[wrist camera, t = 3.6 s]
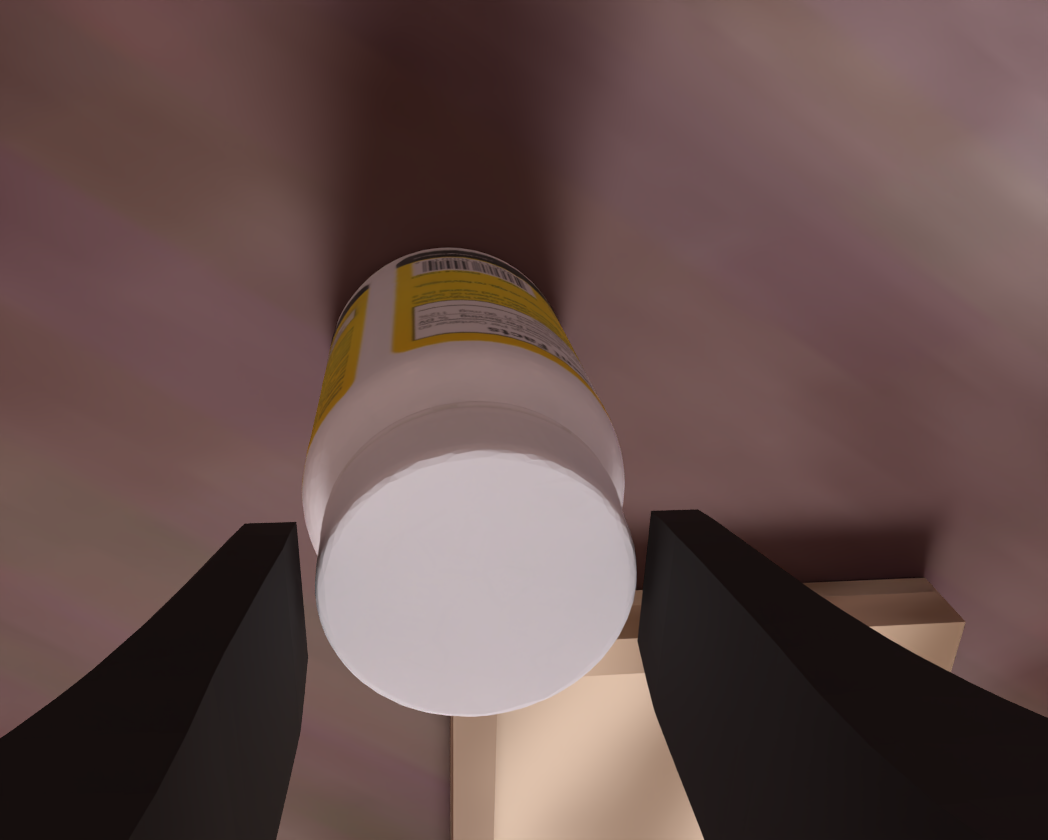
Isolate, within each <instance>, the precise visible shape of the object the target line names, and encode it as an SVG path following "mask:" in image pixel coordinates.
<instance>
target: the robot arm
mask: <svg viewBox="0 0 1048 840" xmlns="http://www.w3.org/2000/svg"><path fill="white" fill-rule="evenodd" d="M637 642H638V646H639V651H640V655H641V659H642V664H643V668H644V672H645V677H646V681H647V685H648V689H649V692H650V696H651V700H652V704H653V708H654V712H655V714H656V717H657V720H658V722H659V725H660V728H661V730H662V733H663V735H664V738H665V741H666V743H667V746H668V748H669V751H670V754H671V756H672V759H673V761H674V764H675V767H676V769H677V772H678V774H679V777H680V779H681V782H682V784H683V787H684V789H685V792H686V794H687V797H688V800H689V802H690V805H691V807H692V810H693V812H694V815H695V817H696V820H697V822H698V825H699V828H700V830H701V833H702V835H703V838H704V840H1048V718H1047V717H1044V716H1042V715H1040V714H1037V713H1035V712H1033V711H1031V710H1028V709H1026V708H1024V707H1021V706H1019V705H1017V704H1015V703H1012V702H1010V701H1008V700H1005V699H1003V698H1001V697H999V696H997V695H995V694H993V693H991V692H989V691H987V690H984V689H982V688H980V687H978V686H976V685H974V684H972V683H970V682H968V681H966V680H964V679H962V678H960V677H958V676H957V675H955V674H953V673H951V672H949V671H947V670H945V669H943V668H941V667H939V666H937V665H936V664H934V663H932V662H930V661H928V660H926V659H924V658H922V657H920V656H918V655H917V654H915V653H913V652H911V651H909V650H908V649H906V648H904V647H902V646H901V645H899V644H897V643H895V642H894V641H892V640H890V639H888V638H887V637H885V636H883V635H882V634H880V633H879V632H877V631H875V630H874V629H872V628H870V627H869V626H867V625H866V624H864V623H862V622H861V621H859V620H858V619H856V618H854V617H853V616H851V615H850V614H848V613H846V612H845V611H843V610H842V609H840V608H839V607H837V606H835V605H834V604H832V603H831V602H829V601H828V600H826V599H825V598H823V597H822V596H820V595H819V594H817V593H816V592H814V591H813V590H812V589H810V588H809V587H807V586H806V585H804V584H803V583H801V582H800V581H799V580H797V579H796V578H794V577H793V576H791V575H790V574H789V573H787V572H786V571H784V570H783V569H782V568H780V567H779V566H777V565H776V564H775V563H773V562H772V561H770V560H769V559H768V558H766V557H765V556H763V555H762V554H761V553H759V552H758V551H757V550H755V549H754V548H753V547H751V546H750V545H748V544H747V543H746V542H744V541H743V540H742V539H740V538H739V537H737V536H736V535H735V534H733V533H732V532H730V531H729V530H728V529H726V528H725V527H724V526H722V525H721V524H719V523H718V522H716V521H715V520H713V519H712V518H711V517H709V516H707V515H706V514H704V513H703V512H701V511H699V510H668V511H651V518H650V527H649V537H648V546H647V555H646V565H645V574H644V584H643V593H642V602H641V612H640V621H639V630H638V640H637ZM307 662H308V652H307V640H306V629H305V617H304V606H303V594H302V583H301V571H300V559H299V548H298V536H297V525H296V522H282V523H250V524H244V525H243V526H242V527H241V528H240V529H239V530H238V531H237V532H236V533H235V534H234V535H233V536H232V537H231V538H230V539H229V540H228V541H227V542H226V543H225V544H224V545H223V546H222V547H221V548H220V549H219V550H218V551H217V552H216V553H215V554H214V555H213V556H212V557H211V558H210V559H209V560H208V561H207V562H206V563H205V565H204V566H203V567H202V568H201V569H200V570H199V571H198V572H197V573H196V574H195V575H194V576H193V577H192V578H191V579H190V580H189V581H188V582H187V583H186V584H185V585H184V586H183V587H182V588H181V589H180V590H179V591H178V592H177V593H176V594H175V595H174V596H173V597H172V598H171V599H170V600H169V601H168V602H167V603H166V604H165V605H164V606H163V607H162V608H161V609H159V610H158V611H157V612H156V613H155V614H154V615H153V616H152V617H151V618H150V619H149V620H148V621H147V622H146V623H145V624H144V625H143V626H142V627H141V628H140V629H138V630H137V631H136V632H135V633H134V634H133V635H132V636H130V637H129V638H128V639H127V640H126V641H125V642H124V643H122V644H121V645H120V646H119V647H118V648H117V649H116V650H114V651H113V652H112V653H111V654H110V655H109V656H108V657H107V658H105V659H104V660H103V661H102V662H101V663H100V664H99V665H97V666H96V667H95V668H94V669H93V670H91V671H90V672H89V673H88V674H87V675H85V676H84V677H83V678H82V679H80V680H79V681H78V682H77V683H75V684H74V685H73V686H71V687H70V688H69V689H68V690H66V691H65V692H64V693H62V694H61V695H60V696H59V697H57V698H56V699H55V700H53V701H52V702H50V703H49V704H48V705H46V706H45V707H44V708H42V709H41V710H39V711H38V712H37V713H35V714H34V715H33V716H31V717H30V718H28V719H27V720H26V721H24V722H23V723H22V724H20V725H19V726H17V727H16V728H15V729H13V730H12V731H10V732H9V733H7V734H6V735H5V736H3V737H2V738H0V840H276V837H277V833H278V829H279V824H280V820H281V816H282V811H283V807H284V803H285V798H286V794H287V790H288V785H289V781H290V776H291V772H292V767H293V763H294V759H295V754H296V750H297V745H298V740H299V736H300V731H301V722H302V713H303V703H304V694H305V683H306V673H307Z"/></svg>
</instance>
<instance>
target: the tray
mask: <svg viewBox="0 0 1048 840" xmlns="http://www.w3.org/2000/svg"><path fill="white" fill-rule="evenodd" d="M803 584H804V585H806V586H807V587H809V588H810V589H812V590H813V591H814V592H816V593H817V594H819V595H820V596H822V597H823V598H825V599H826V600H828V601H829V602H831V603H832V604H834V605H835V606H837V607H839V608H840V609H842V610H843V611H845V612H846V613H848V614H850V615H851V616H853V617H854V618H856V619H858V620H859V621H861V622H862V623H864V624H866V625H867V626H869V627H870V628H872V629H874V630H875V631H877V632H879V633H880V634H882V635H883V636H885V637H887V638H888V639H890V640H892V641H894V642H895V643H897V644H899V645H901V646H902V647H904V648H906V649H908V650H909V651H911V652H913V653H915V654H917V655H918V656H920V657H922V658H924V659H926V660H928V661H930V662H932V663H934V664H936V665H937V666H939V667H941V668H943V669H945V670H947V671H949V672H951V669H952V666H953V663H954V659H955V656H956V652H957V649H958V646H959V642H960V639H961V636H962V632H963V629H964V625H965V621H964V620H963V619H962V617H961V616H960V615H959V614H958V613H957V612H956V611H955V610H954V609H953V608H952V607H951V606H950V604H949V603H948V602H947V601H946V600H945V599H944V598H943V597H942V596H941V595H940V594H939V593H938V591H937V590H936V589H935V588H934V587H933V586H932V585H931V584H930V583H929V582H928V581H927V580H926V578H906V579H883V580H860V581H837V582H814V583H803ZM642 593H643V590H635V595H634V601H633V604H632V607H631V610H630V613H629V616H628V619H627V621H626V623H625V625H624V627H623V629H622V631H621V633H620V635H619V636H618V638H617V639H616V641H615V642H614V644H613V645H612V647H611V648H610V649H609V651H608V652H607V653H606V654H605V656H604V657H603V658H602V659H601V660H600V661H599V662H598V663H597V664H596V665H595V666H594V667H593V668H592V669H591V670H590V671H589V672H588V673H587V674H585V675H584V676H583V677H582V678H580V679H579V680H578V681H577V682H575V683H574V684H572V685H571V686H569V687H568V688H566V689H564V690H563V691H561V692H559V693H558V694H556V695H554V696H552V697H550V698H548V699H545V700H543V701H540V702H537V703H535V704H533V705H530V706H528V707H525V708H522V709H518V710H514V711H510V712H506V713H500V714H495V715H489V716H477V717H464V716H450V840H704V838H703V835H702V833H701V830H700V828H699V825H698V822H697V820H696V817H695V815H694V812H693V810H692V807H691V805H690V802H689V800H688V797H687V794H686V792H685V789H684V787H683V784H682V782H681V779H680V777H679V774H678V772H677V769H676V767H675V764H674V761H673V759H672V756H671V754H670V751H669V748H668V746H667V743H666V741H665V738H664V735H663V733H662V730H661V728H660V725H659V722H658V720H657V717H656V714H655V712H654V708H653V704H652V700H651V696H650V692H649V689H648V685H647V681H646V677H645V672H644V668H643V664H642V659H641V655H640V651H639V646H638V642H637V640H638V630H639V621H640V612H641V602H642Z"/></svg>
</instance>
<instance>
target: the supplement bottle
mask: <svg viewBox="0 0 1048 840" xmlns="http://www.w3.org/2000/svg"><path fill="white" fill-rule="evenodd" d="M624 488H625V478H624V466H623V458H622V453H621V449H620V445H619V442H618V439H617V436H616V433H615V430H614V427H613V425H612V423H611V420H610V418H609V416H608V414H607V412H606V410H605V409H604V407H603V405H602V403H601V401H600V399H599V397H598V396H597V394H596V392H595V390H594V388H593V386H592V384H591V382H590V380H589V378H588V376H587V374H586V372H585V370H584V369H583V367H582V365H581V363H580V361H579V359H578V357H577V355H576V353H575V352H574V350H573V348H572V346H571V344H570V342H569V340H568V338H567V336H566V334H565V332H564V331H563V329H562V327H561V325H560V323H559V321H558V319H557V317H556V315H555V313H554V311H553V310H552V308H551V306H550V304H549V303H548V301H547V300H546V298H545V297H544V295H543V294H542V293H541V292H540V290H539V289H538V288H537V287H536V286H535V285H534V283H533V282H532V281H531V280H529V279H528V278H527V277H526V276H525V275H524V274H522V273H521V272H520V271H519V270H517V269H516V268H514V267H513V266H511V265H509V264H508V263H506V262H505V261H503V260H500V259H498V258H496V257H494V256H491V255H489V254H486V253H482V252H479V251H475V250H469V249H463V248H450V247H449V248H434V249H428V250H421V251H418V252H415V253H411V254H408V255H406V256H403V257H401V258H399V259H396V260H394V261H392V262H391V263H389V264H387V265H385V266H384V267H382V268H381V269H379V270H378V271H377V272H375V273H374V274H373V275H371V276H370V277H369V278H368V279H367V280H366V281H365V282H364V283H363V284H362V285H361V286H360V287H359V288H358V290H357V291H356V292H355V293H354V295H353V296H352V297H351V298H350V300H349V301H348V303H347V304H346V306H345V308H344V310H343V311H342V313H341V315H340V317H339V320H338V322H337V325H336V329H335V332H334V335H333V338H332V343H331V348H330V352H329V357H328V361H327V366H326V371H325V376H324V380H323V385H322V390H321V395H320V399H319V403H318V408H317V412H316V417H315V421H314V426H313V430H312V435H311V439H310V442H309V446H308V450H307V456H306V461H305V468H304V474H303V481H302V501H303V509H304V516H305V522H306V526H307V529H308V533H309V536H310V539H311V542H312V544H313V547H314V549H315V552H316V554H317V555H318V558H317V565H316V578H315V596H316V604H317V610H318V614H319V618H320V621H321V624H322V627H323V630H324V632H325V634H326V637H327V639H328V641H329V643H330V644H331V646H332V647H333V649H334V651H335V652H336V654H337V655H338V656H339V658H340V659H341V661H342V662H343V663H344V665H345V666H346V667H347V668H348V669H349V670H350V671H351V672H352V673H353V674H354V675H355V676H356V677H357V678H358V679H359V680H360V681H361V682H363V683H364V684H366V685H367V686H369V687H370V688H371V689H373V690H374V691H376V692H377V693H378V694H380V695H382V696H384V697H386V698H388V699H390V700H392V701H394V702H397V703H399V704H401V705H403V706H406V707H409V708H412V709H416V710H419V711H423V712H427V713H433V714H441V715H447V716H464V717H477V716H489V715H495V714H500V713H506V712H510V711H514V710H518V709H522V708H525V707H528V706H530V705H533V704H535V703H537V702H540V701H543V700H545V699H548V698H550V697H552V696H554V695H556V694H558V693H559V692H561V691H563V690H564V689H566V688H568V687H569V686H571V685H572V684H574V683H575V682H577V681H578V680H579V679H580V678H582V677H583V676H584V675H585V674H587V673H588V672H589V671H590V670H591V669H592V668H593V667H594V666H595V665H596V664H597V663H598V662H599V661H600V660H601V659H602V658H603V657H604V656H605V654H606V653H607V652H608V651H609V649H610V648H611V647H612V645H613V644H614V642H615V641H616V639H617V638H618V636H619V635H620V633H621V631H622V629H623V627H624V625H625V623H626V621H627V619H628V616H629V613H630V610H631V607H632V604H633V601H634V595H635V589H636V581H637V567H636V554H635V547H634V543H633V540H632V536H631V533H630V530H629V527H628V524H627V522H626V519H625V516H624V513H623V510H622V506H623V498H624Z"/></svg>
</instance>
